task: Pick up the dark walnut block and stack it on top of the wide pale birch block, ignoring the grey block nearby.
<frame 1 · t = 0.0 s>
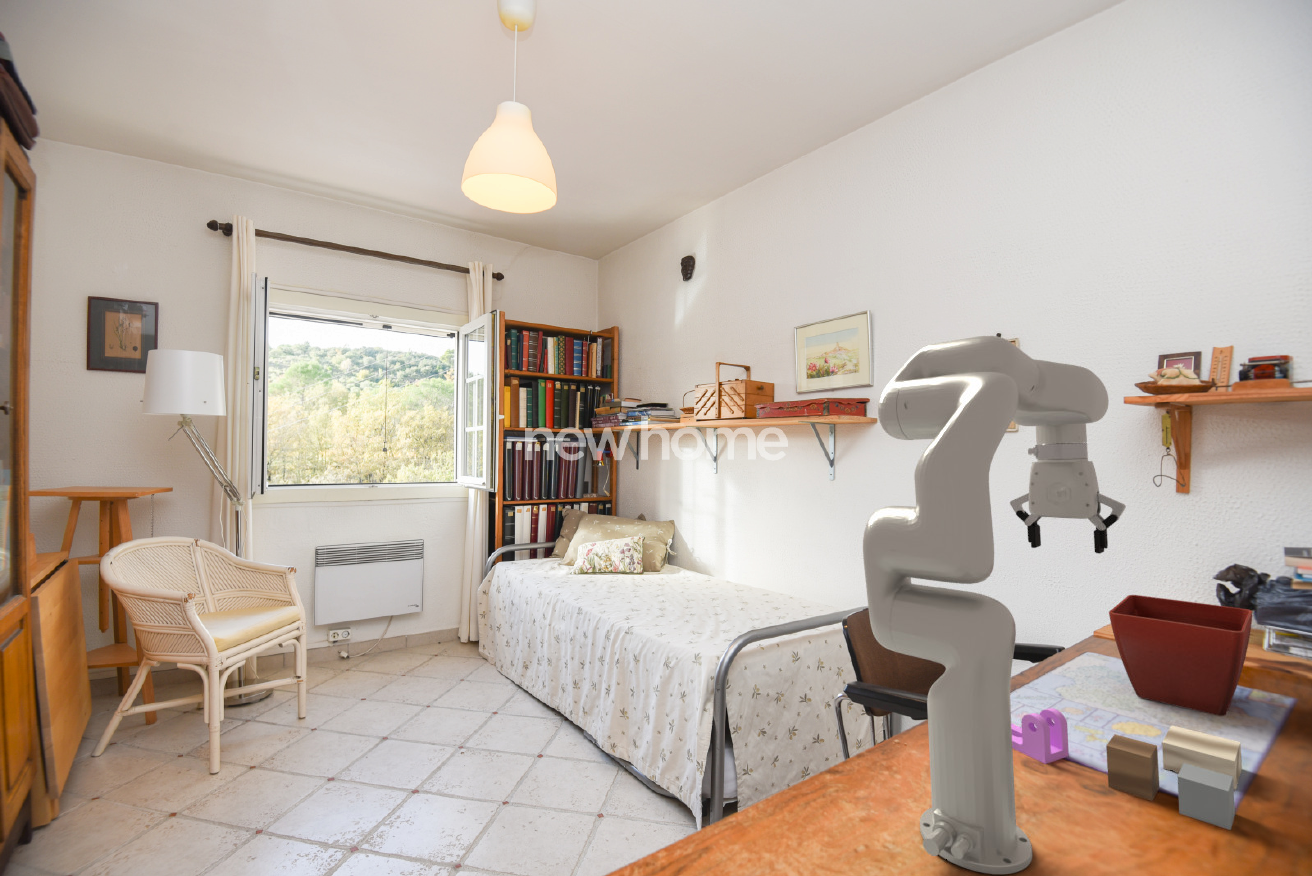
hand: (1066, 549, 106), 31 cm above the table, fingers open, 9 cm apart
birch block: (1202, 768, 91), on the table
plant pot: (1184, 698, 116), on the table
walnut block: (1133, 787, 87), on the table
grey block: (1207, 814, 80), on the table
bracket: (1018, 744, 101), on the table
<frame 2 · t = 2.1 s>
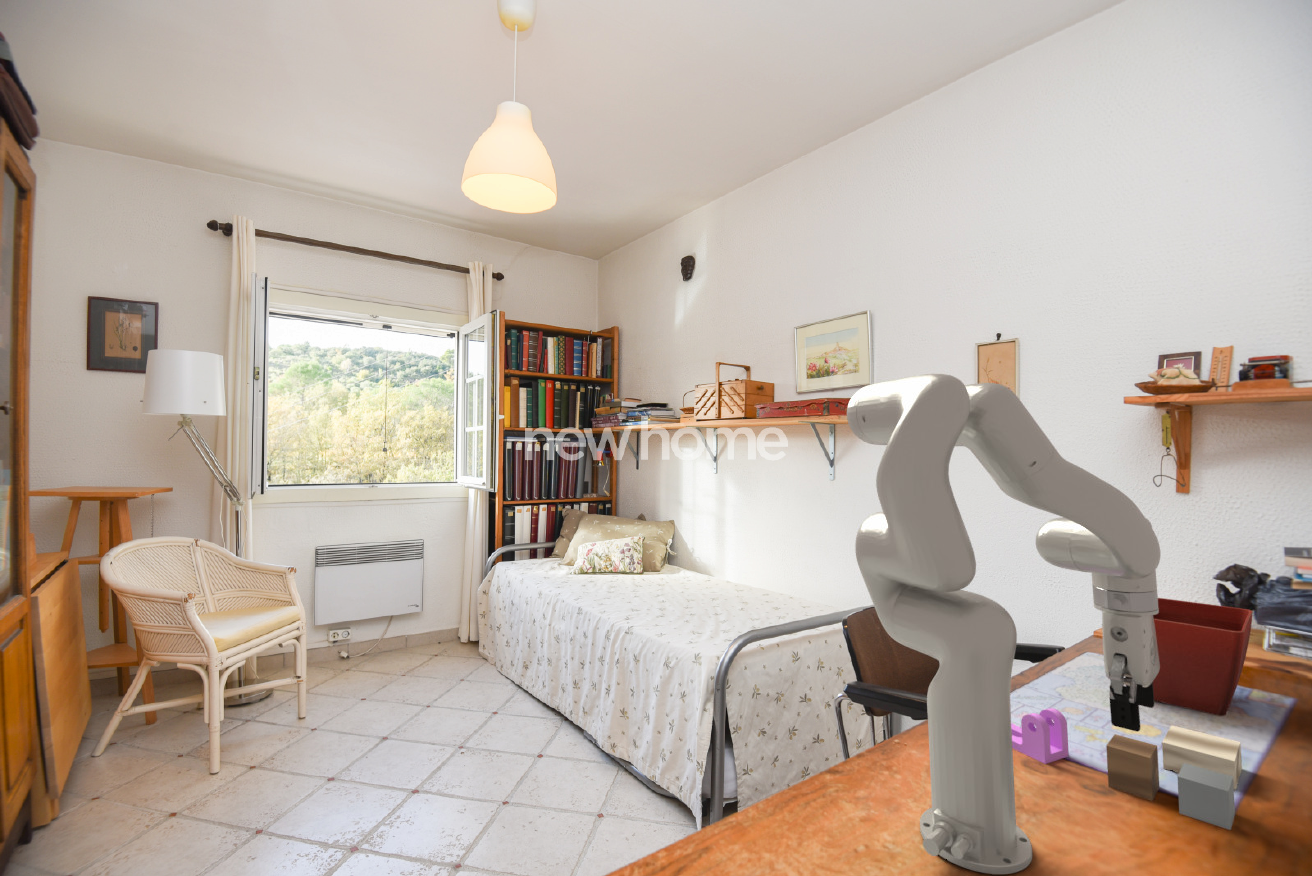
hand: (1133, 716, 87), 10 cm above the table, fingers open, 9 cm apart
nothing on the table moved.
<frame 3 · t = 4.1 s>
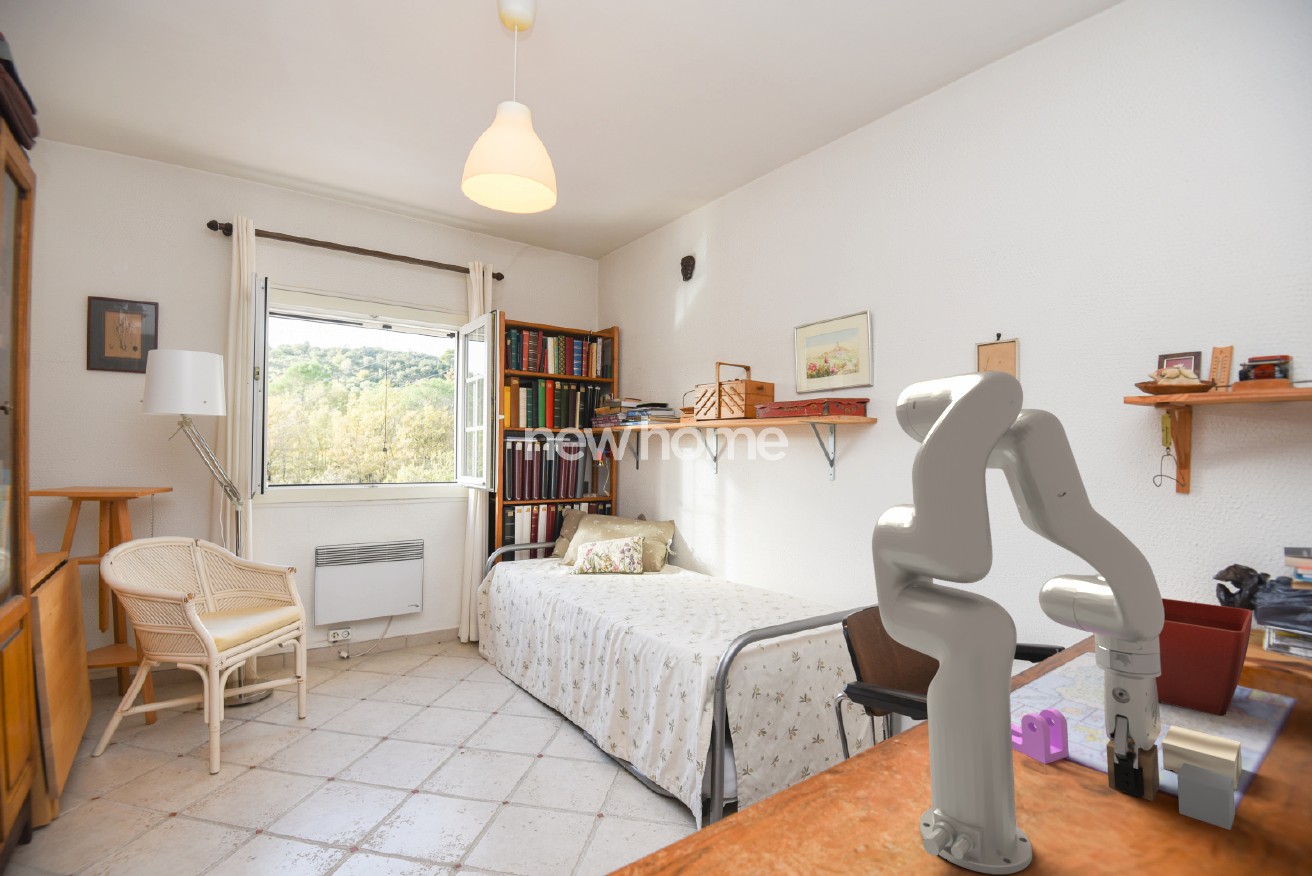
hand: (1133, 783, 87), 0 cm above the table, fingers closed on walnut block, 5 cm apart
walnut block: (1134, 787, 87), on the table, touching gripper
everything else where it was.
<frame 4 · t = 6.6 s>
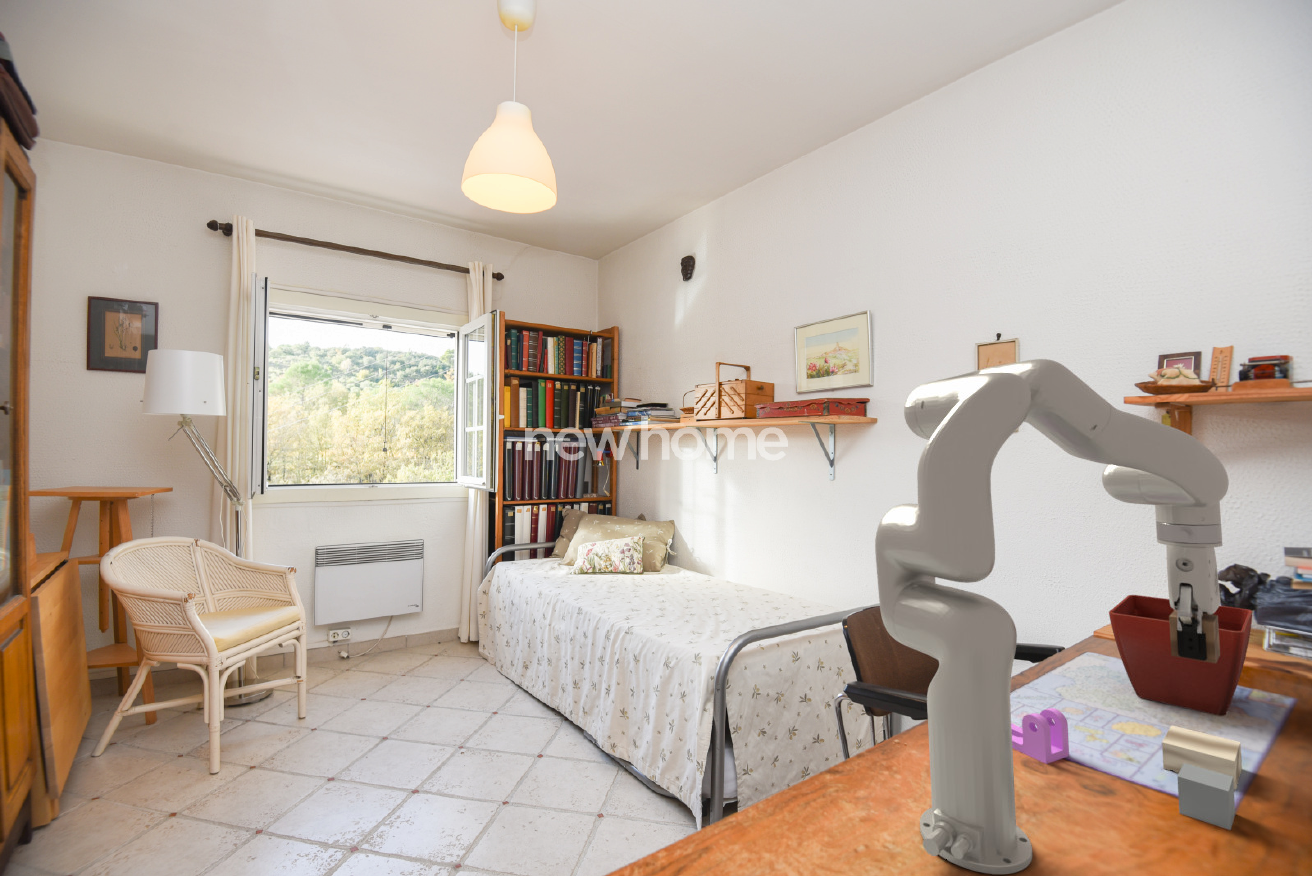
hand: (1195, 652, 91), 18 cm above the table, fingers closed on walnut block, 4 cm apart
walnut block: (1195, 655, 91), point 17 cm above the table, touching gripper
everything else where it was.
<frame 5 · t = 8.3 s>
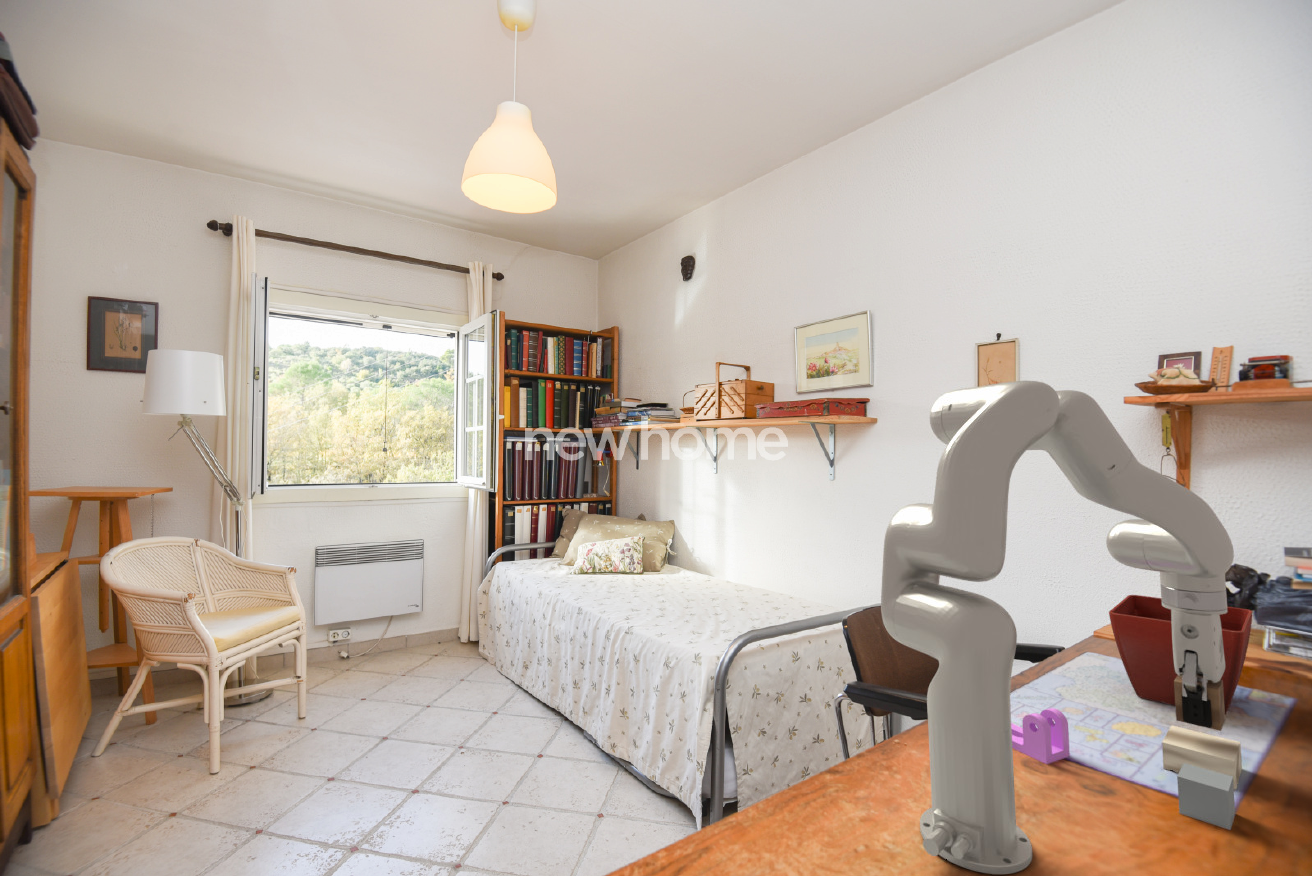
hand: (1200, 717, 91), 8 cm above the table, fingers closed on walnut block, 4 cm apart
walnut block: (1200, 720, 91), point 7 cm above the table, touching gripper
everything else where it was.
when the fingers open (5 cm above the table, at t = 9.6 s): walnut block stays where it is, resting on birch block.
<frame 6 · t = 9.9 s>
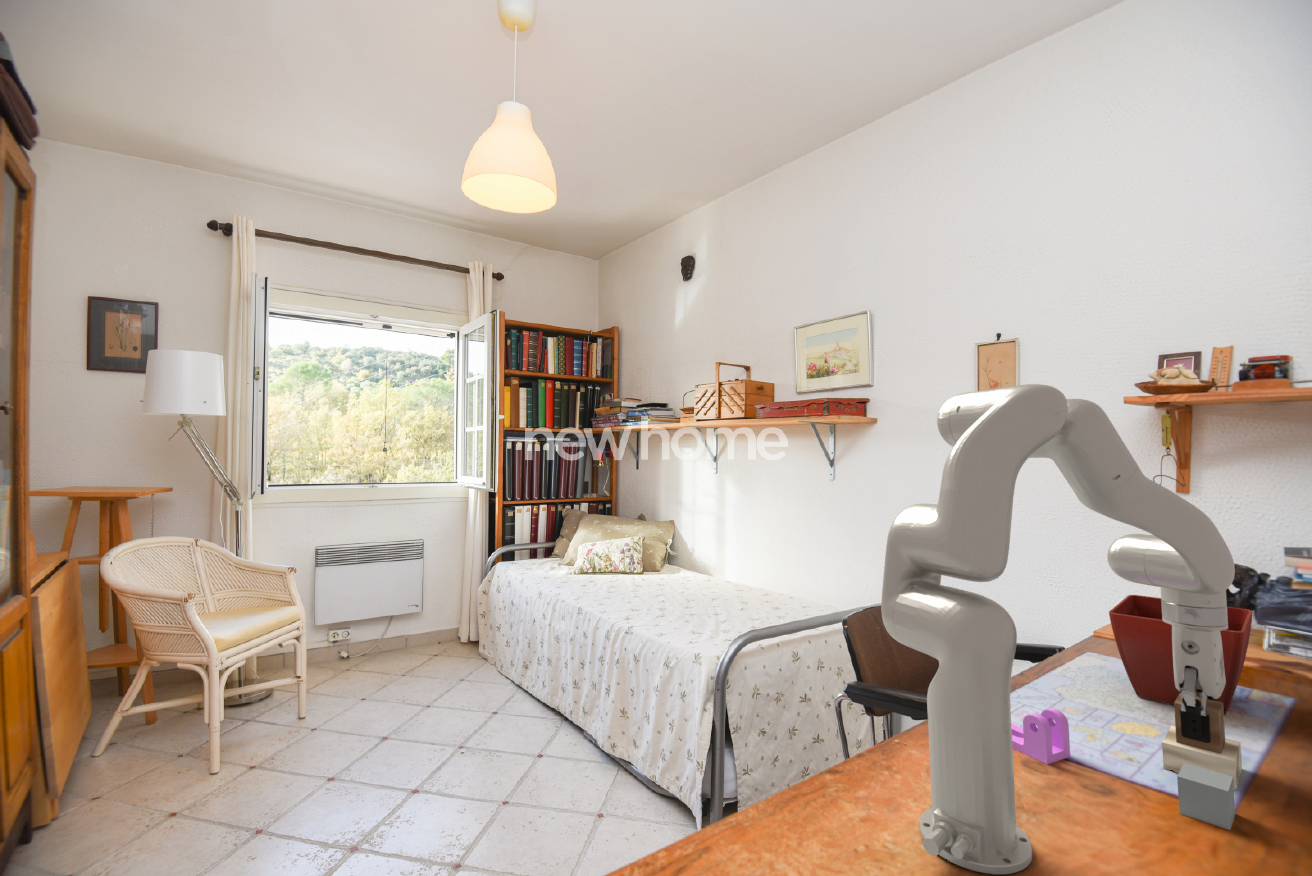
hand: (1200, 729, 91), 6 cm above the table, fingers open, 7 cm apart
walnut block: (1200, 742, 91), point 4 cm above the table, touching birch block
everything else where it was.
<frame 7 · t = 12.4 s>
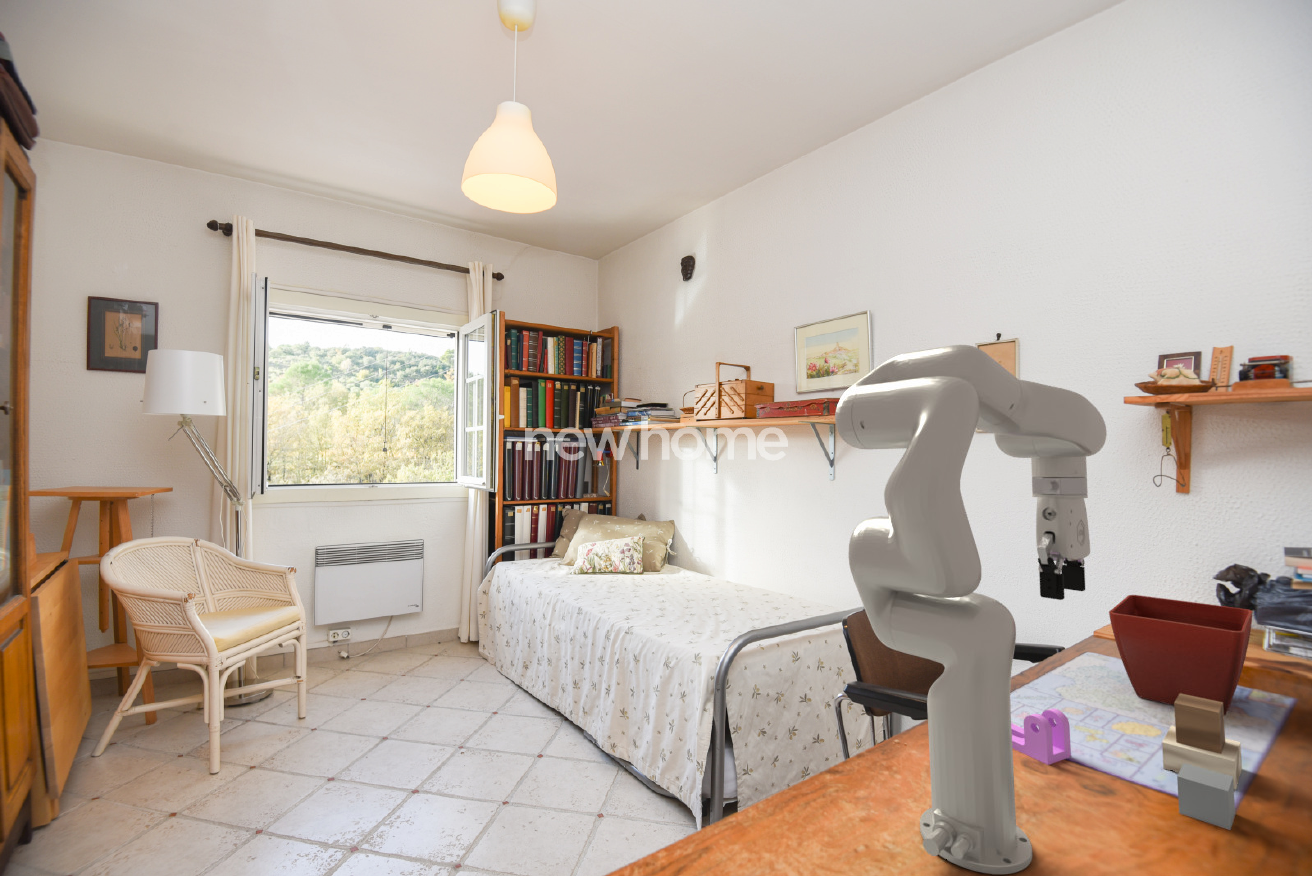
hand: (1063, 593, 97), 26 cm above the table, fingers open, 9 cm apart
nothing on the table moved.
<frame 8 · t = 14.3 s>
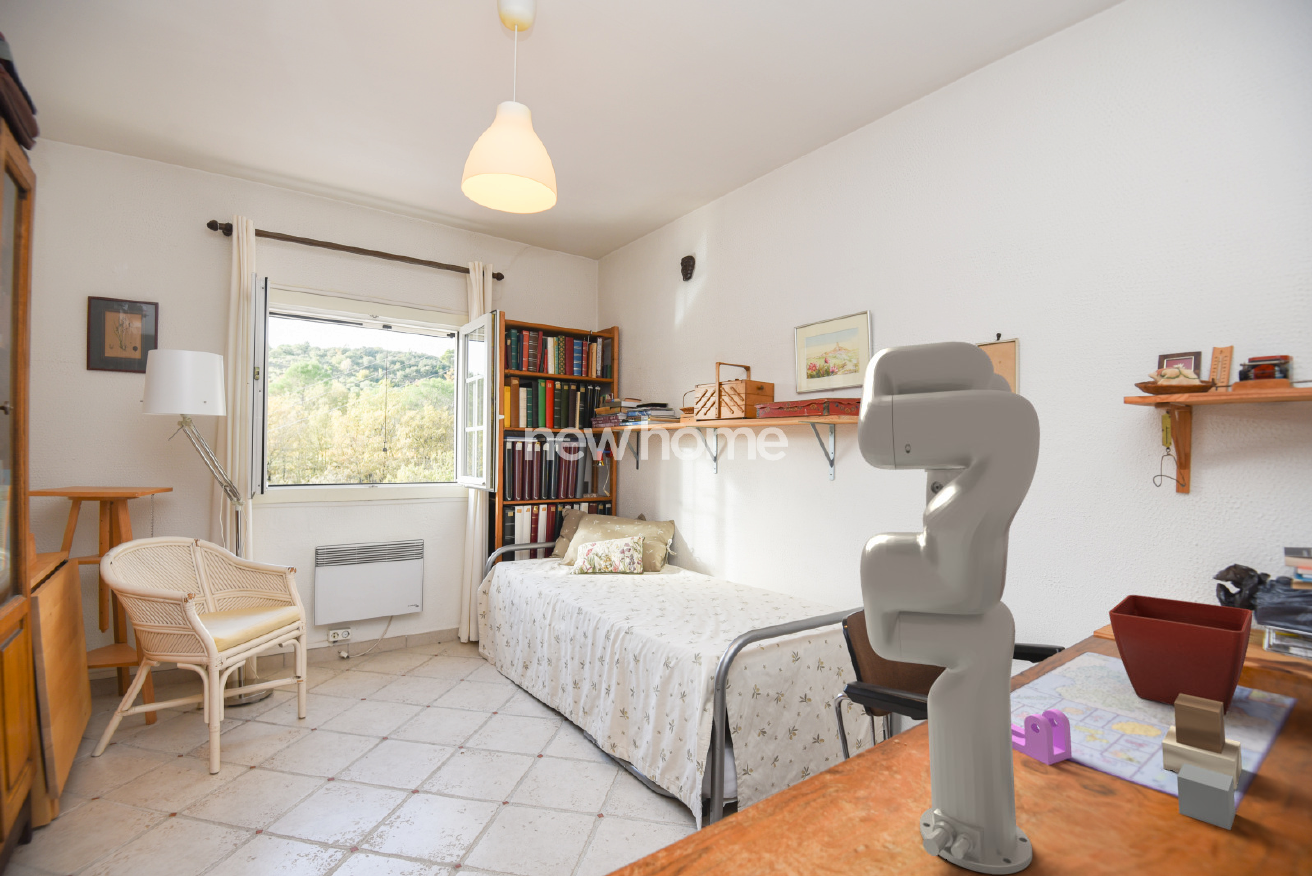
hand: (952, 562, 103), 30 cm above the table, fingers open, 9 cm apart
nothing on the table moved.
at the end: walnut block 0.1 cm from the birch block (horizontally); walnut block point 4.0 cm above the table; walnut block touching birch block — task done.
